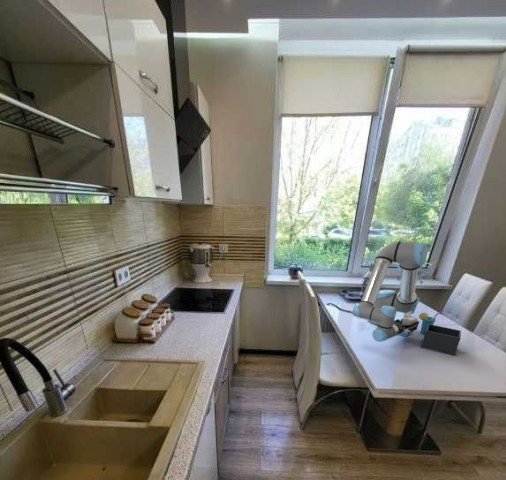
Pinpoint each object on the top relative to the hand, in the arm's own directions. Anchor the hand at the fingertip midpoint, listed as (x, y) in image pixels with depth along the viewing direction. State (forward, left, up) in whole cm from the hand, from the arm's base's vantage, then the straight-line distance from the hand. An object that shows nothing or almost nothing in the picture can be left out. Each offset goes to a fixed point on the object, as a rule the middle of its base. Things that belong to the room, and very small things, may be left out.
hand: (413, 321), depth 172 cm
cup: (+8, +13, -11) cm, 19 cm away
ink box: (-2, -5, -8) cm, 10 cm away
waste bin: (+16, -6, -11) cm, 20 cm away
